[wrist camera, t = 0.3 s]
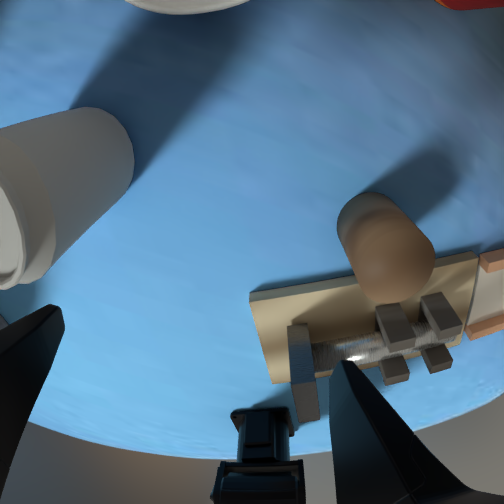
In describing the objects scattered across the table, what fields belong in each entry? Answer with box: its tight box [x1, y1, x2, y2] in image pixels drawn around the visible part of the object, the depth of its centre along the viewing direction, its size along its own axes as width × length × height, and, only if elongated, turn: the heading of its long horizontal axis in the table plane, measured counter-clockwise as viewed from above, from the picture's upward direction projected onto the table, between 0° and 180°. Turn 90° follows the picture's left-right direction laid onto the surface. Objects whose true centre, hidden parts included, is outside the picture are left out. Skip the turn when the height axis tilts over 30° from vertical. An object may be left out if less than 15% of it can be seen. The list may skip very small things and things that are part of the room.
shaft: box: [287, 319, 457, 423], centre depth 22 cm, size 5×14×6 cm, turn 102°
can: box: [0, 107, 135, 290], centre depth 15 cm, size 8×8×12 cm
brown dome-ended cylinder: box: [337, 192, 435, 304], centre depth 19 cm, size 5×5×6 cm
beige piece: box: [249, 251, 479, 386], centre depth 24 cm, size 10×19×5 cm, turn 102°
